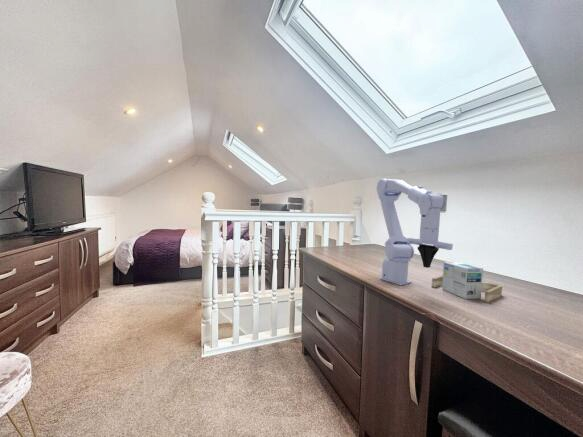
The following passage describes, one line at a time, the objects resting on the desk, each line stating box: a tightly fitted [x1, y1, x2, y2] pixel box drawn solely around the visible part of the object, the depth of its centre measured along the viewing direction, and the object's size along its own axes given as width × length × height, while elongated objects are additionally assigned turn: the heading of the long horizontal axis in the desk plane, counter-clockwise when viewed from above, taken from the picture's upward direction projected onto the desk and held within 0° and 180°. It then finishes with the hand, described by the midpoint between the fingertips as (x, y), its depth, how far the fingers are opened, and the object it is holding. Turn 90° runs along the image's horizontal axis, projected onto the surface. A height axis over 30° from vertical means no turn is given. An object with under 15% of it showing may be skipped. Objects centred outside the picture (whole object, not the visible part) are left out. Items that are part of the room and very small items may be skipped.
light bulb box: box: [441, 261, 484, 300], centre depth 91 cm, size 11×7×11 cm, turn 12°
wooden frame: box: [431, 274, 503, 304], centre depth 94 cm, size 18×14×4 cm
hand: (426, 267), depth 88 cm, fingers closed
